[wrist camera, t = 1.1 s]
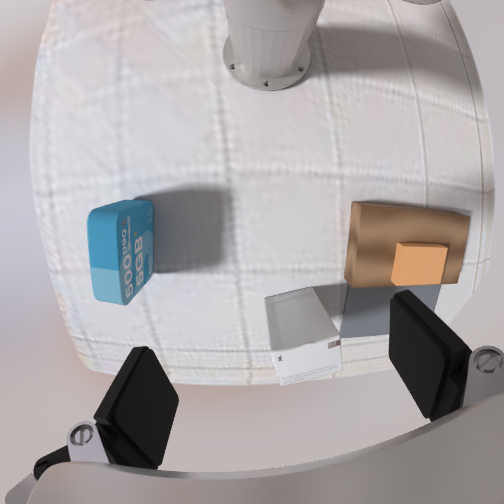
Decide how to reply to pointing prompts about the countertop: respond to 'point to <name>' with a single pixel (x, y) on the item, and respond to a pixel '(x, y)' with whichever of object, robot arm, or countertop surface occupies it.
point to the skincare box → (301, 337)
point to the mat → (377, 308)
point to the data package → (120, 249)
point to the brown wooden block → (400, 240)
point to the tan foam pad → (418, 264)
